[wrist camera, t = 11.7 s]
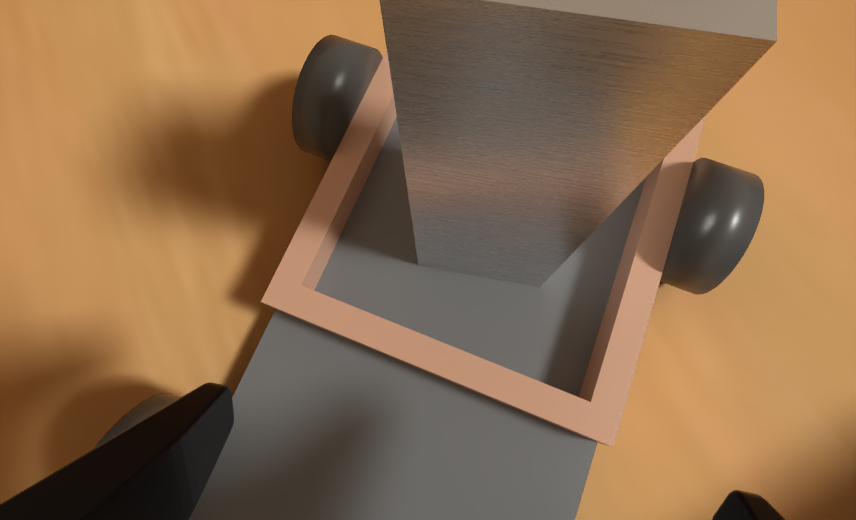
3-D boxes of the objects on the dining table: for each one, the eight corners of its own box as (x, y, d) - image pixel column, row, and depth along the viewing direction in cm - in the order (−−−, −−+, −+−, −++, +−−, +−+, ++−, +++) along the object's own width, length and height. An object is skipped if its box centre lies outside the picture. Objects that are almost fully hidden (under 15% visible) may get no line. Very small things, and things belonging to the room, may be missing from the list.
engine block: (540, 287, 17) (776, 40, 5) (418, 265, 18) (377, -15, 6) (554, 174, 18) (775, -236, 6) (440, 156, 19) (445, -269, 7)
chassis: (541, 793, 14) (586, 964, 10) (107, 572, 16) (-12, 636, 12) (711, 166, 20) (787, 102, 15) (372, 53, 21) (356, -32, 17)
